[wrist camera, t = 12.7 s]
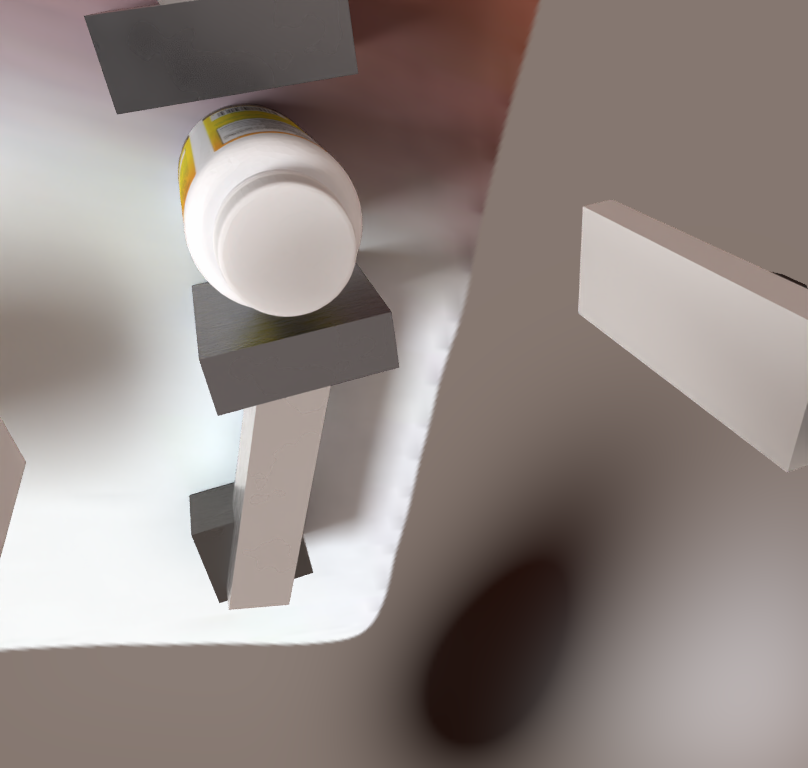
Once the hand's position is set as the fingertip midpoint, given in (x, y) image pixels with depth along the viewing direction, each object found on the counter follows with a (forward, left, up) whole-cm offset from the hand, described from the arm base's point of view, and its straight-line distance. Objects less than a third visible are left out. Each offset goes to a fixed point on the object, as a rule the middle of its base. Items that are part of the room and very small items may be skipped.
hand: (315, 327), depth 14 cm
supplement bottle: (0, 0, -15) cm, 15 cm away
